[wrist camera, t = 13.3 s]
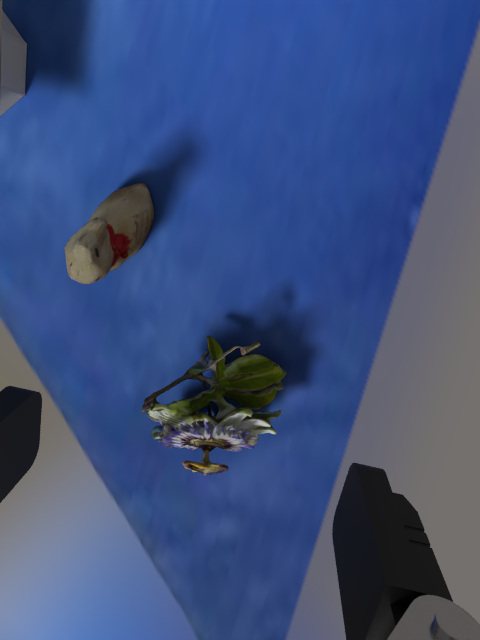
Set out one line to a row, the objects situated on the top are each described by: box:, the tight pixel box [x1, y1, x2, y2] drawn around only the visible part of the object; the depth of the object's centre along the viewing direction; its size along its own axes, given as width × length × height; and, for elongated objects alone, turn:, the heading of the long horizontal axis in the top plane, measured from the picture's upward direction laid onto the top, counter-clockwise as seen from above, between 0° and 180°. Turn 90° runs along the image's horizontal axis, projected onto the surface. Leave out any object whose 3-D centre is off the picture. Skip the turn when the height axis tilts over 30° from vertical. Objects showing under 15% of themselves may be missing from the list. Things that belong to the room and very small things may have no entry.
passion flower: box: [142, 336, 286, 475], centre depth 41 cm, size 11×11×12 cm
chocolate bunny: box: [65, 183, 154, 284], centre depth 36 cm, size 6×8×10 cm
